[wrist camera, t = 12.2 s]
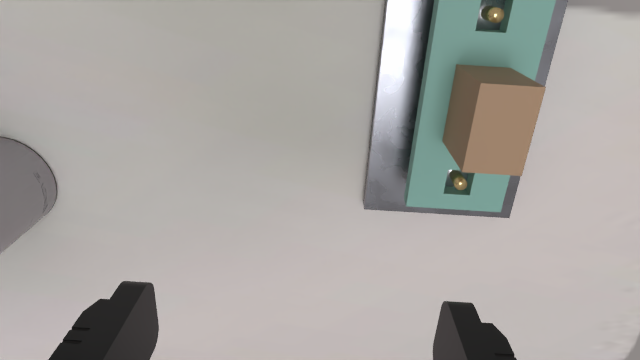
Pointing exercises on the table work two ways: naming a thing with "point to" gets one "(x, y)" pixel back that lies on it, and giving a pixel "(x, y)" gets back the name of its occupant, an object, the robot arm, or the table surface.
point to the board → (437, 86)
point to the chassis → (403, 97)
